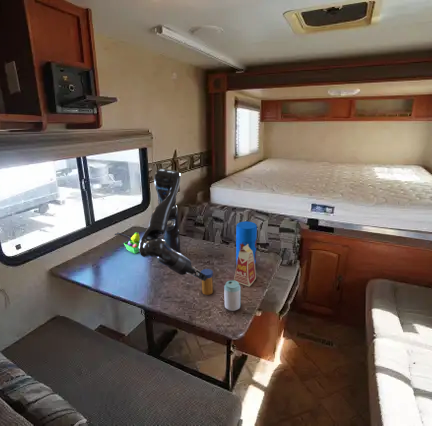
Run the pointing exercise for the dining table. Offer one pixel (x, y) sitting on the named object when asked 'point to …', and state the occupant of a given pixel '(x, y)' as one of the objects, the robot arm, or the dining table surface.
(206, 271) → the jar lid
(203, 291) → the jar
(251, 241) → the thermos
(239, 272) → the milk carton
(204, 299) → the dining table surface
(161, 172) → the robot arm
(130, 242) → the fruit basket
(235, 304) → the can
